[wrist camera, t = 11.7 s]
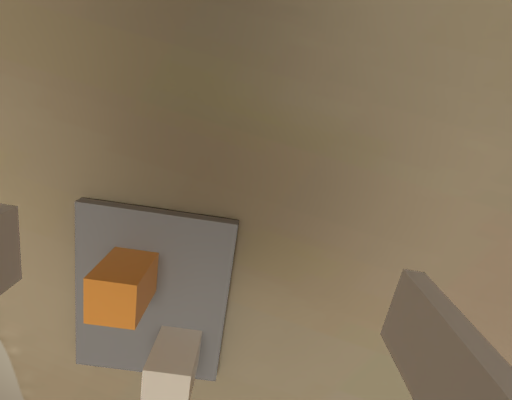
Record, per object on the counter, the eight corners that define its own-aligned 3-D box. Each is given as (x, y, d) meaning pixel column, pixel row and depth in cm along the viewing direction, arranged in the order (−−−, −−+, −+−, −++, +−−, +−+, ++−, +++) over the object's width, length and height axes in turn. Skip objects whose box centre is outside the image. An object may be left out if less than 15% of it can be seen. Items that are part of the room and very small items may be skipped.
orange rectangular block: (115, 246, 37) (83, 278, 30) (158, 252, 37) (137, 285, 31) (113, 285, 39) (83, 323, 32) (156, 290, 39) (134, 330, 32)
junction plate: (81, 197, 37) (32, 224, 29) (238, 220, 38) (233, 252, 30) (82, 355, 43) (41, 413, 35) (216, 372, 44) (207, 433, 36)
